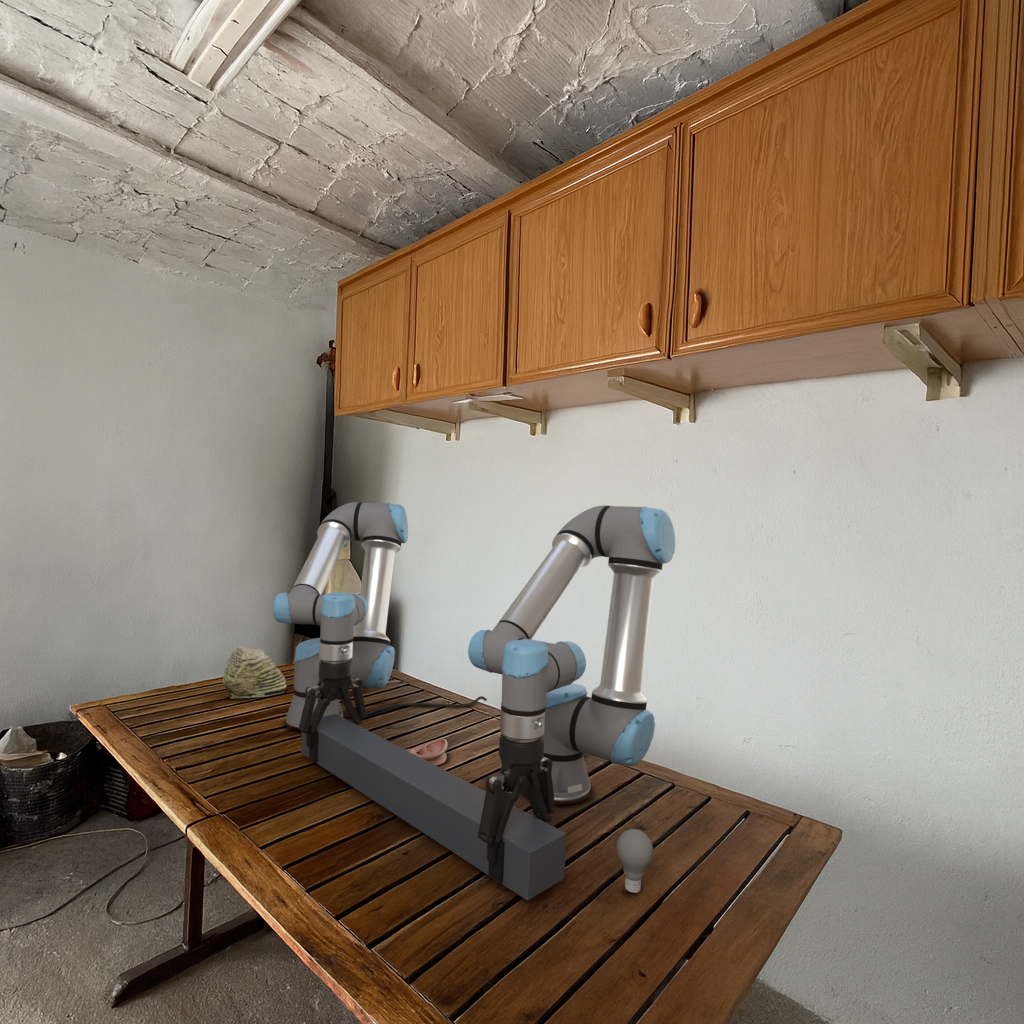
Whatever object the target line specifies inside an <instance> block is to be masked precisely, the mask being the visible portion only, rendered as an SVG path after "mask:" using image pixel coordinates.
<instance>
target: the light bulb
mask: <svg viewBox="0 0 1024 1024" xmlns="http://www.w3.org/2000/svg"><path fill="white" fill-rule="evenodd" d="M615 849H616V854H617V857H618V859H619V861H620V863H621V865H622V867H623V873H624V874H623V875H624V876H625V878H624V888H625V890H627V891H628V892H630V893H634V894H635V893H639V892H640V891H641V889H642V887H641V886H642V879H643V877H644V875H645V871H646V868H647V867H648V866H649V864H650V863H651V861H652V859H653V855H654V847H653V843H652V841H651V838H649V836H648V835H647V834H646V833H645V832H643V831H642V830H641V829H636V828H629V829H627V830H625V831H623V832H622V833H621V834H620V835H619V837H618V839H617V841H616V847H615Z"/></svg>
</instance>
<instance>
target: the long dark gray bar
mask: <svg viewBox="0 0 1024 1024" xmlns="http://www.w3.org/2000/svg"><path fill="white" fill-rule="evenodd" d="M316 732H317V733H319V739H318V762H315V763H314V764H317V765H318V766H320V767H321V768H323V769H325V770H326V771H327V772H329V773H331V774H332V775H333V776H335V777H336V778H338V779H340V780H342V781H343V782H344V783H346V784H348V785H349V786H350V787H352V788H354V789H355V790H357V791H358V792H360V793H361V794H363V795H364V796H366V797H367V798H369V799H370V800H372V801H374V802H375V803H376V804H378V805H380V806H381V807H382V808H384V809H386V810H387V811H388V812H390V813H393V815H395V816H396V817H398V818H400V819H401V820H403V821H404V822H406V823H407V824H409V825H410V826H412V827H414V828H415V829H417V830H418V831H420V832H421V833H422V834H424V835H425V836H427V837H429V838H431V840H433V841H435V842H436V843H438V844H439V845H441V846H443V847H444V848H446V849H447V850H449V851H451V852H452V853H453V854H455V855H457V856H458V857H459V858H461V859H463V860H464V861H466V862H467V863H469V864H470V865H472V866H474V867H475V868H476V869H477V870H480V871H481V872H482V873H484V874H486V875H487V876H488V871H489V860H488V859H487V843H486V842H484V841H482V840H481V839H479V838H478V831H479V826H480V821H481V816H482V811H483V806H484V801H485V796H486V790H484V789H482V788H480V787H478V786H476V785H475V784H472V783H470V782H469V781H467V780H465V779H463V778H461V777H458V776H456V775H455V774H453V773H451V772H449V771H447V770H445V769H443V768H441V767H439V765H434V764H432V763H430V762H428V761H426V760H424V759H422V758H420V757H418V756H416V755H414V754H412V753H411V752H409V751H407V749H405V748H403V747H400V746H399V745H398V744H395V743H393V742H391V741H390V740H387V739H386V738H384V737H381V736H380V735H378V734H376V733H374V732H372V731H370V730H368V729H366V728H364V727H362V726H360V725H359V724H358V725H357V724H355V723H353V722H351V720H350V719H347V718H345V717H344V716H343V717H341V716H339V715H337V714H332V715H328V716H324V717H322V719H321V721H320V723H319V726H318V728H317V730H316ZM306 737H307V733H303V732H301V737H300V738H301V739H300V740H301V741H300V742H301V743H300V754H301V755H303V756H304V757H306V758H308V759H309V747H307V745H306ZM495 834H496V833H495ZM501 840H502V841H504V842H505V849H504V873H503V882H502V883H501V884H500V885H502V886H504V887H506V888H507V889H509V890H510V891H512V892H513V893H515V894H516V895H518V896H519V897H521V898H523V899H524V900H526V901H527V902H528V901H530V900H532V899H534V898H535V897H536V896H538V895H540V894H542V893H543V892H544V891H546V890H549V888H551V887H553V886H555V885H556V884H558V883H559V882H562V880H564V879H565V872H566V869H565V868H566V851H567V850H566V849H567V848H566V845H567V833H566V832H564V831H563V830H562V829H560V828H557V827H555V826H553V825H552V824H549V823H548V822H547V821H546V822H544V821H542V820H540V819H538V818H536V816H535V815H532V814H530V813H528V812H526V811H524V810H522V809H521V808H519V807H517V806H515V805H513V807H512V810H511V813H510V816H509V819H508V822H507V825H506V828H505V831H504V833H503V836H502V839H501Z"/></svg>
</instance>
